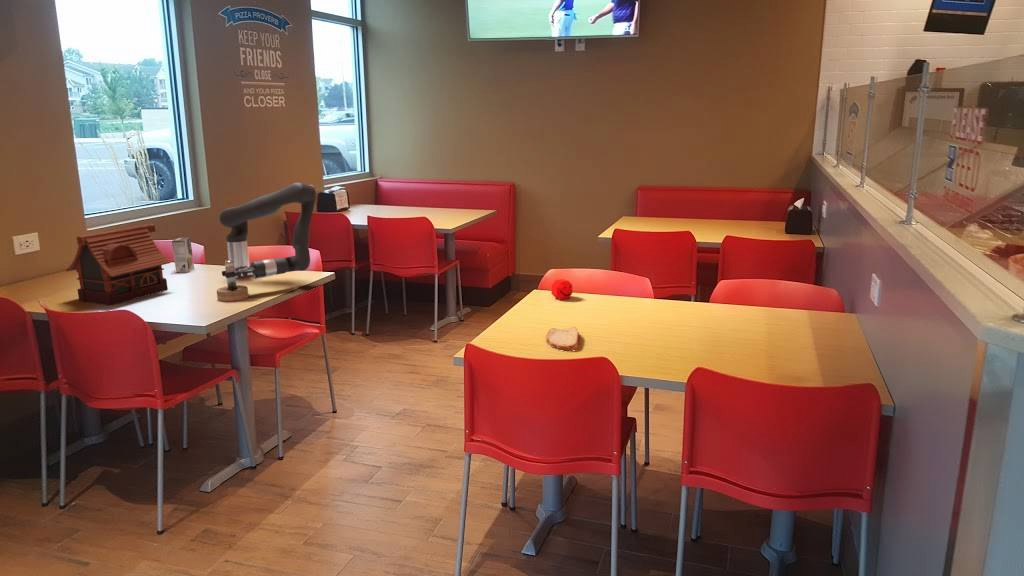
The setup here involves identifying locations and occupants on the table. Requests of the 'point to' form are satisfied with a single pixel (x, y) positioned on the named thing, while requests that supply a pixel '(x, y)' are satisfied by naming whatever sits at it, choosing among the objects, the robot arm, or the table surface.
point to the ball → (561, 289)
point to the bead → (232, 293)
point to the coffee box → (183, 254)
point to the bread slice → (563, 339)
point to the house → (119, 265)
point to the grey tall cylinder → (231, 281)
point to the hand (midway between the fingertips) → (224, 274)
